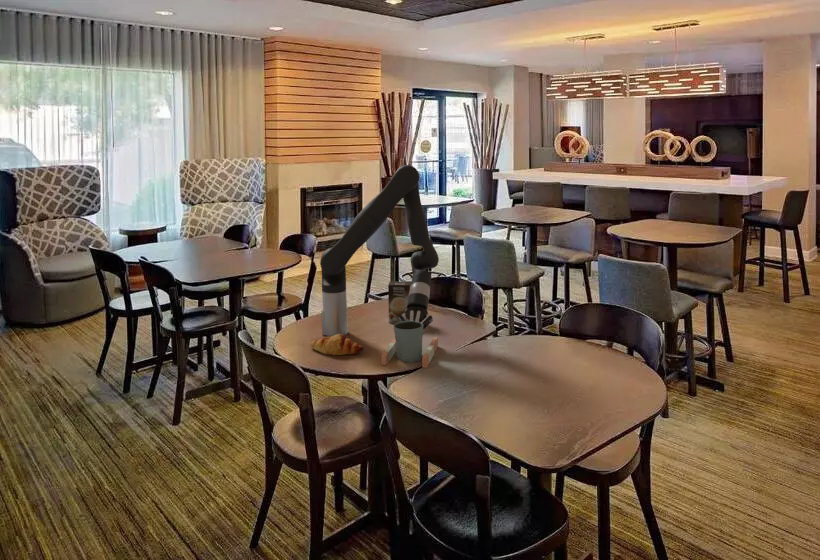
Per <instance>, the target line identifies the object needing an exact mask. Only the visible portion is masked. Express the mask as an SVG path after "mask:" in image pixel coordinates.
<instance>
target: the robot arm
mask: <svg viewBox="0 0 820 560" xmlns="http://www.w3.org/2000/svg"><path fill="white" fill-rule="evenodd" d="M419 183H420V173H419V171H418V169H417V168H416V167H415V166H413V165H411V164H404V165H401V166H400V167H398V168H397V170H395V172H394V174H393V176H391V178H390V180H389V182H388V183H387V184H385V187H383V189H382V191H380V192H379V193H378V194H377V195H376V196H374V197H373V198H372V199H371V200H370V201H369V202H368V203H367V204H366V205H365V206H364V207H363V208H362V210H360V212H359V213H357V215H356V216H355V218H354V219H353V220H352V221H351V223H350V225H349V226H348V228H347V229H346V231H345V232H344V234H343V235H342V237H341V238H340V239H339V240H338V241H337V243H335V244H334V245H333V246H332V247H329V248H327V249H325V250H324V251H323V253H322V254H321V257H320V261H319V264H320V268H321V294H322V295H321V296H322V297H321V298H322V299H321V300H322V310H321V311H320V313H321V315H320V317H321V333H322V334H321V335H322V336H325V337H332V336H334V335H338V334H342V335H344V336H346V335H347V334H349V330H348V329H349V326H348V322H349V321H348V301H347V274H346V273H347V272H346V271H347V270H346V269H347V267H346V265H347V264H348V263H349V262H350V259H351V258H352V257H353V256H354V255H355V253H356V252H357V250H359V249H360V248H361V247H362V246H364V244H365V243H366V242H368V240H369V239H370V238H371V237H373V235H374V234H375V233H376V232H377V231H378V230H379V229H380V228H381V227H382V225H383V224H384V223H385V221H386V220H387V219H388V217H389V216H390V215H391V213H392V212H393V210H394V209H395V208H396V206H397V205H398V204H399V202H400V201H402V200H403V204H404V208H405V209H404V210H405V215H406V223H407V228H408V232H409V237H410V242H411V244H412V245H413V246H416V247H417V246H418V247H421V248H423V250H420V251H419V250H418V251H415V252H414V253H412V254H411V256H410V267H411V274H412V278H411V287H410V291H409V297H408V303H407V309H406V310H405V313H403V314H402V315H401V314H399V315H398V316H399V319H400V321H401V322H402V321H405V319H406V318H405V317H407V318H408V320H409V321H418V322H421V323H423V331H424V330H425V329H426V328H427V327H428V326H430V324H431V323H433V321H434V319H433V318H434V317H433V316H432V315H430V314H429V312H428V308H429V301H430V292H431V282H432V275H431V273H430V272H429V271H427V270H429V269H435V268H437V266H438V264H439V262H440V259H439V255H438V252H437V250H436V248H435V246H434V245H433V242H432V241H431V238H430V233H429V229H428V226H427V225H428V224H427V221H426V216H425V213H424V210H423V205H422V201H421V196H420V184H419Z"/></svg>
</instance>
